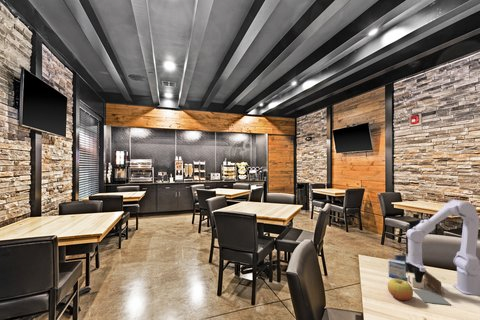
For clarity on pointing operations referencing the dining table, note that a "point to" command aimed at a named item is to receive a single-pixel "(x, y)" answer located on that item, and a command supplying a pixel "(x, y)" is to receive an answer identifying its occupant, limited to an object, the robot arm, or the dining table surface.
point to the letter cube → (413, 283)
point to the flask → (401, 257)
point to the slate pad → (431, 297)
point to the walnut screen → (432, 283)
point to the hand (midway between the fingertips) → (415, 279)
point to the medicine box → (397, 269)
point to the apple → (400, 289)
